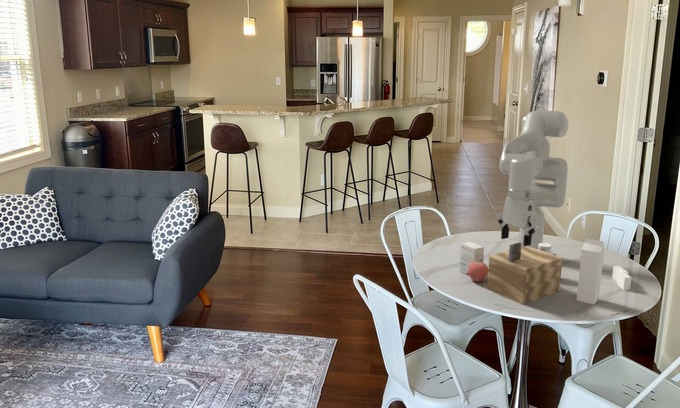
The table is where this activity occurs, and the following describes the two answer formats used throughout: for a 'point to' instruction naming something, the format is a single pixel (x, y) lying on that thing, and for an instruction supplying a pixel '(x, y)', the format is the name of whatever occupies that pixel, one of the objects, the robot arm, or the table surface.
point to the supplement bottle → (545, 247)
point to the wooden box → (524, 281)
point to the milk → (590, 271)
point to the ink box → (470, 255)
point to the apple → (478, 271)
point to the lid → (525, 257)
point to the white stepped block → (621, 277)
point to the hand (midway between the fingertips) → (515, 241)
